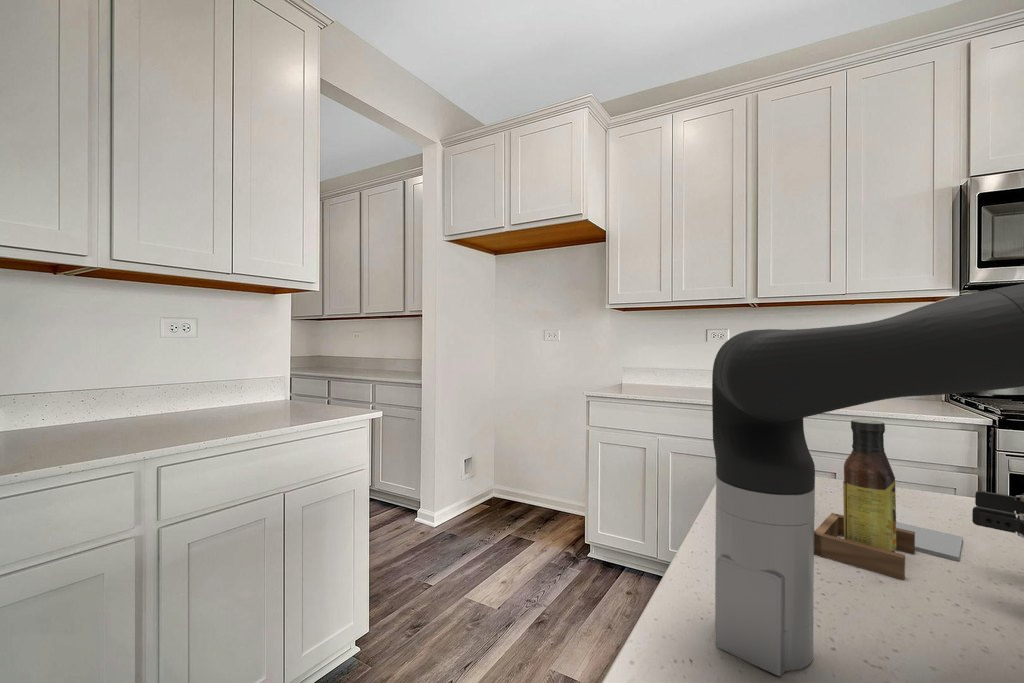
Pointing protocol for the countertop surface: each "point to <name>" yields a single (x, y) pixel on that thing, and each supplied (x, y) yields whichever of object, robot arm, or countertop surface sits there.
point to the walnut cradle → (862, 548)
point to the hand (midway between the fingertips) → (974, 506)
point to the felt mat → (935, 542)
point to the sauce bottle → (869, 489)
